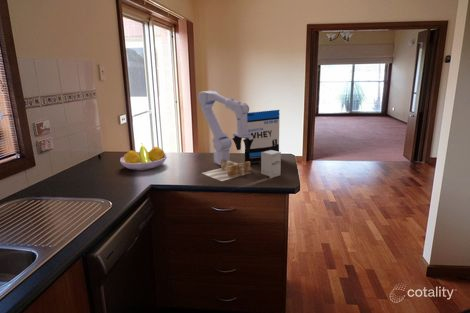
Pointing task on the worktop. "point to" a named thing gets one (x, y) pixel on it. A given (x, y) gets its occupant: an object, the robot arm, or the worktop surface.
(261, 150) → the protein powder
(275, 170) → the supplement box
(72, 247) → the worktop surface
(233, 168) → the wooden block
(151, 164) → the fruit bowl
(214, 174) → the halving base
